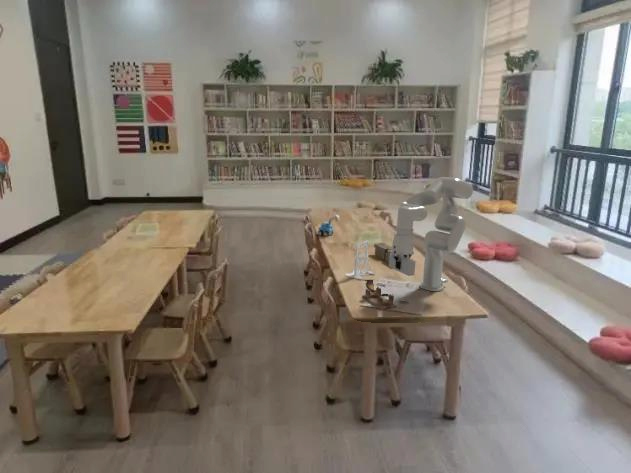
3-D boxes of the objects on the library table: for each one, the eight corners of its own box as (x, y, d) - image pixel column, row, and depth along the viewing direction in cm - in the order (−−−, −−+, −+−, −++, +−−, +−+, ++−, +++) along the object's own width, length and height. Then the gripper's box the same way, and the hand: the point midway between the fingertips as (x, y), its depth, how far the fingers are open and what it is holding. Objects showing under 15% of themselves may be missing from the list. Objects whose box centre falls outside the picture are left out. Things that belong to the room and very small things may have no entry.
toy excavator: (334, 238, 349) (335, 216, 345) (316, 235, 358) (316, 213, 353) (340, 236, 356) (341, 214, 352) (322, 233, 365) (322, 211, 360)
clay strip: (394, 265, 236) (395, 252, 234) (414, 275, 222) (415, 261, 220) (388, 266, 234) (389, 253, 232) (408, 275, 220) (409, 261, 218)
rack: (376, 294, 240) (376, 285, 239) (396, 307, 225) (397, 297, 223) (362, 297, 237) (362, 287, 235) (381, 310, 221) (382, 300, 220)
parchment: (394, 296, 239) (394, 294, 239) (377, 297, 237) (377, 295, 237) (377, 280, 263) (377, 279, 262) (361, 281, 260) (361, 280, 260)
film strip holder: (355, 269, 279) (356, 237, 274) (375, 274, 272) (377, 241, 266) (342, 275, 268) (344, 242, 263) (363, 280, 260) (365, 246, 255)
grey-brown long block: (407, 267, 289) (383, 253, 314) (408, 254, 286) (384, 241, 312) (397, 268, 285) (373, 254, 311) (398, 255, 283) (374, 242, 309)
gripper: (412, 229, 230) (409, 264, 234) (385, 231, 223) (383, 267, 227) (422, 232, 224) (419, 268, 228) (395, 235, 216) (392, 272, 221)
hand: (401, 267), depth 227 cm, fingers closed on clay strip, 3 cm apart
